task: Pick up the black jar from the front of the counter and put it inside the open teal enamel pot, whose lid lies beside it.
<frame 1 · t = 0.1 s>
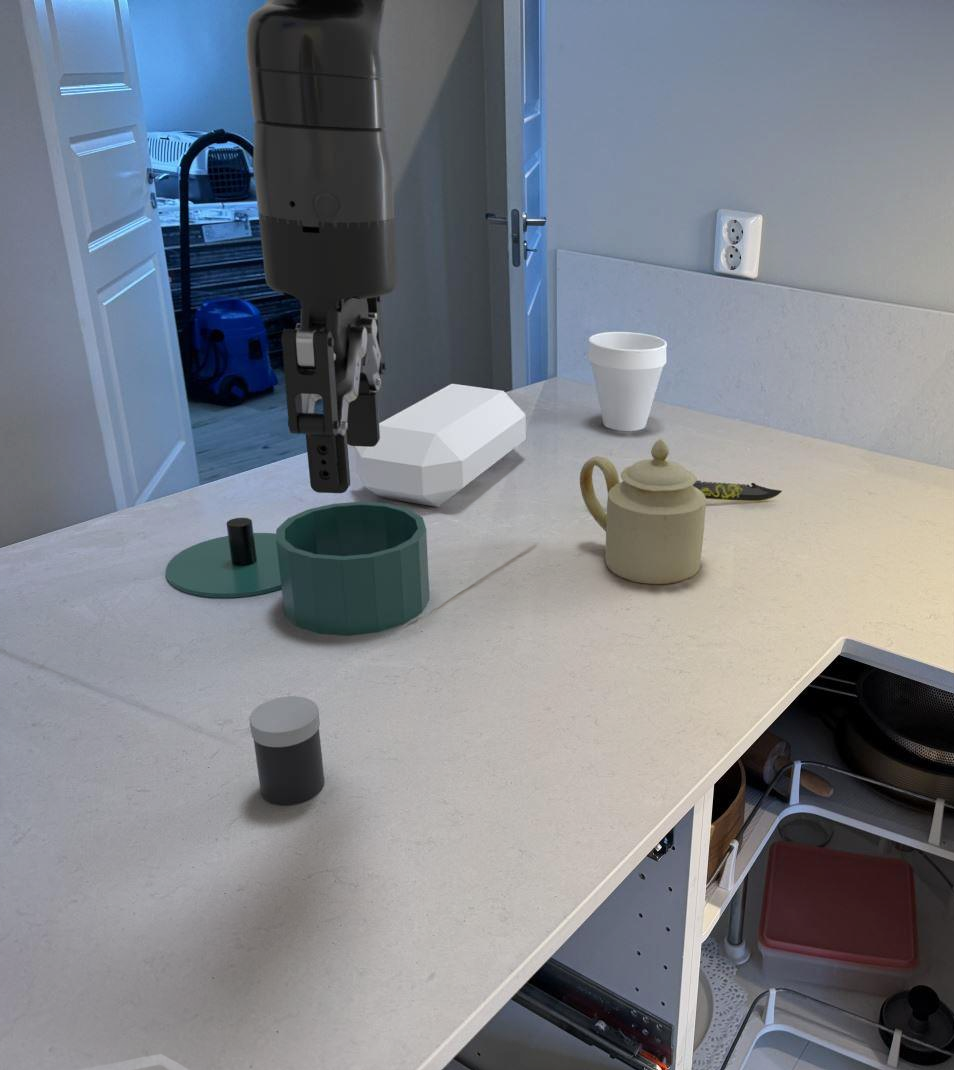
hand: (348, 466, 65), 26 cm above the worktop, tool pointing down, fingers open, 8 cm apart
cup: (624, 425, 159), on the worktop
pot: (358, 605, 99), on the worktop
lid: (244, 565, 104), point 1 cm above the worktop
black jar: (293, 786, 74), on the worktop
crystal: (446, 476, 133), on the worktop
knife: (699, 505, 131), on the worktop
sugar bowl: (636, 563, 114), on the worktop
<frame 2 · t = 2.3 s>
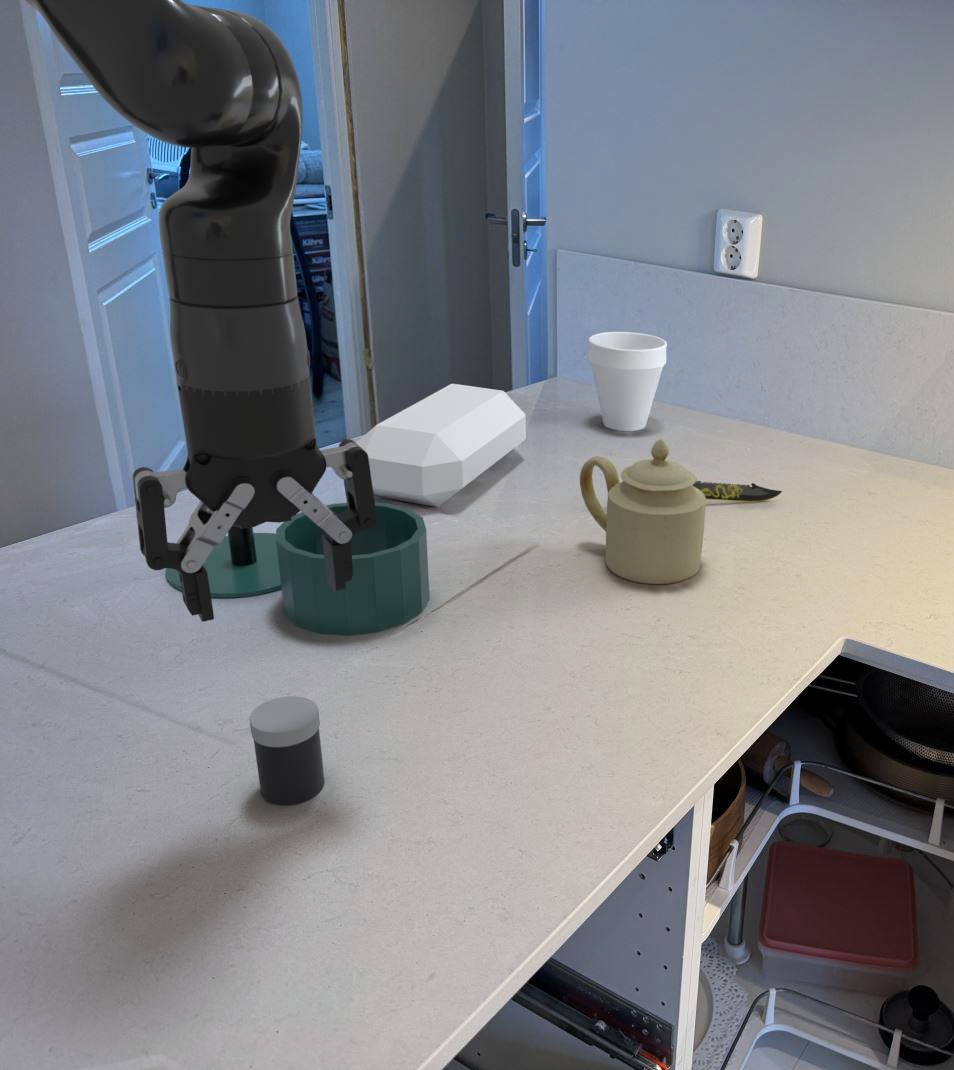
hand: (272, 601, 68), 16 cm above the worktop, tool pointing down, fingers open, 8 cm apart
nothing on the worktop moved.
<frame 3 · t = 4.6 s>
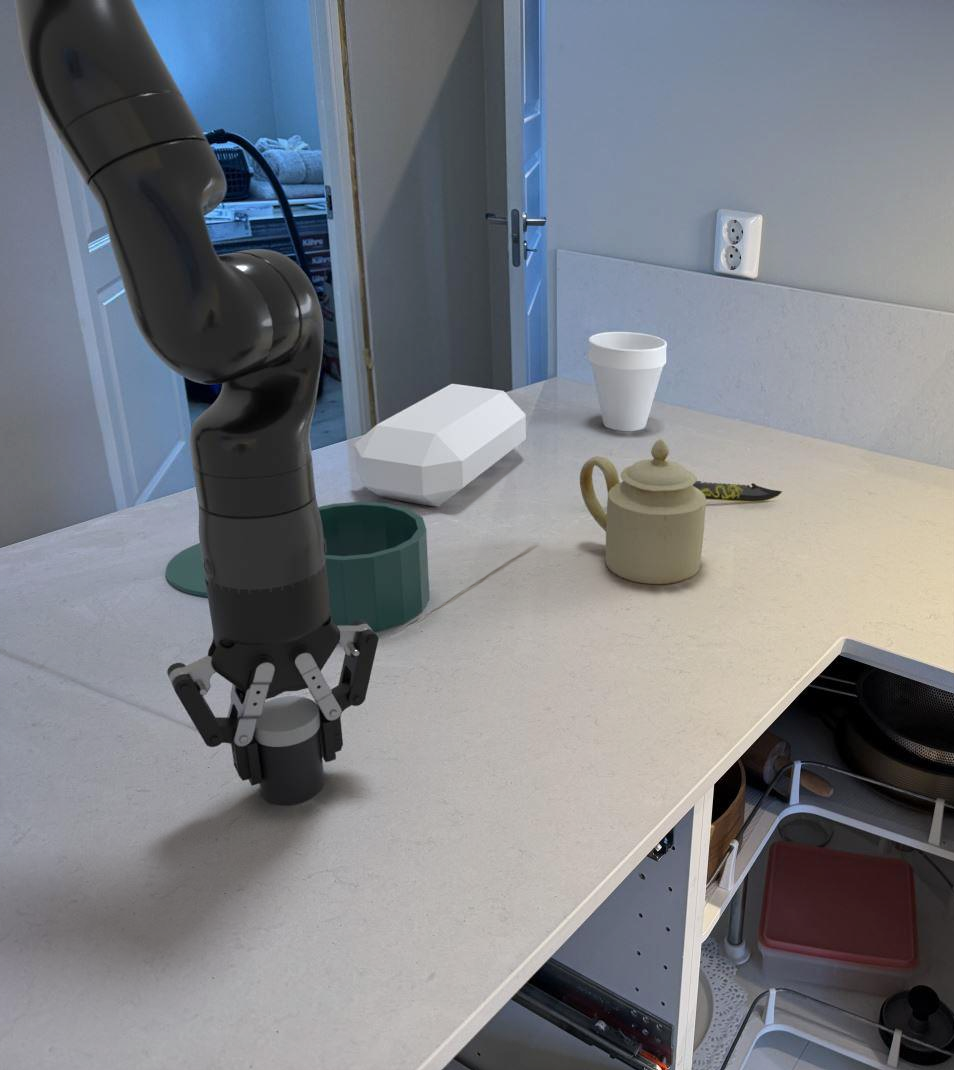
hand: (290, 766, 73), 2 cm above the worktop, tool pointing down, fingers closed on black jar, 4 cm apart
black jar: (293, 786, 74), on the worktop, touching gripper
everything else where it was.
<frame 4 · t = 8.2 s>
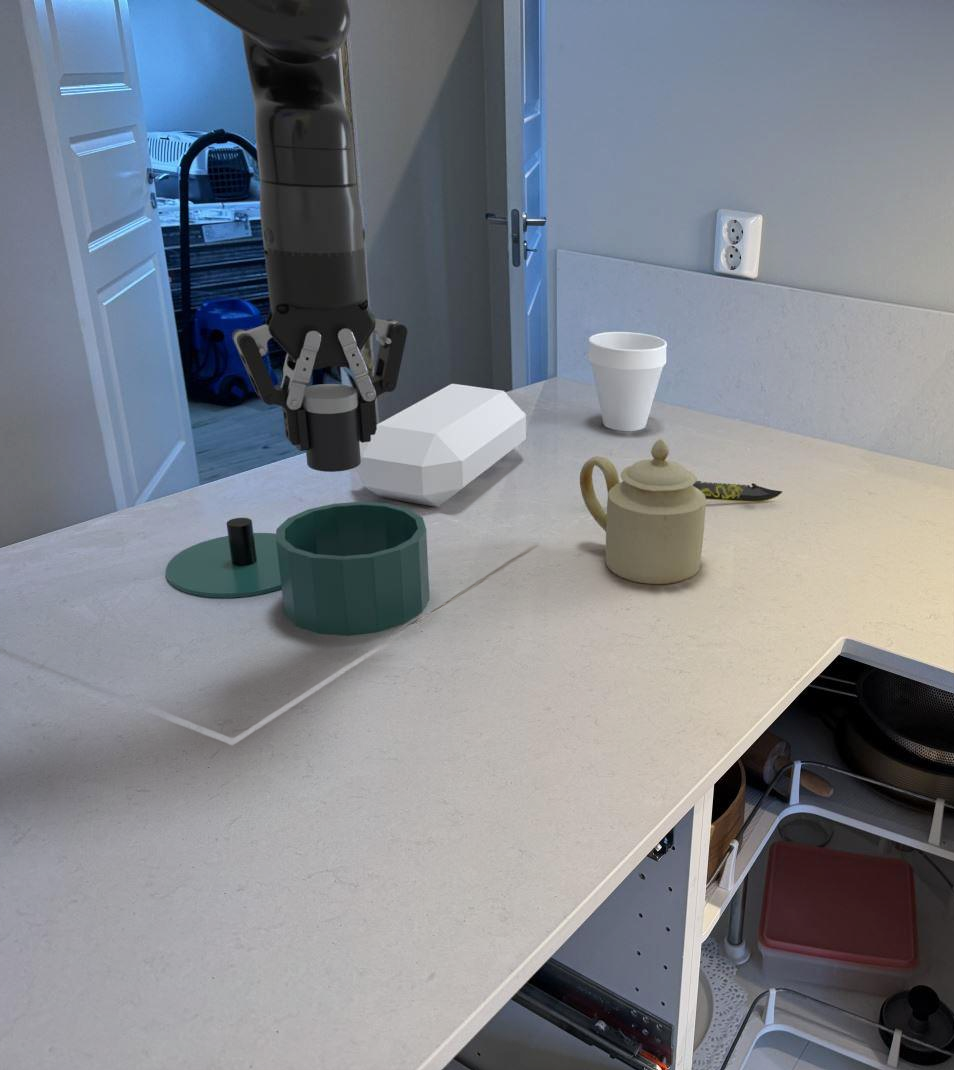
hand: (332, 442, 86), 19 cm above the worktop, tool pointing down, fingers closed on black jar, 4 cm apart
black jar: (334, 463, 87), point 18 cm above the worktop, touching gripper
everything else where it was.
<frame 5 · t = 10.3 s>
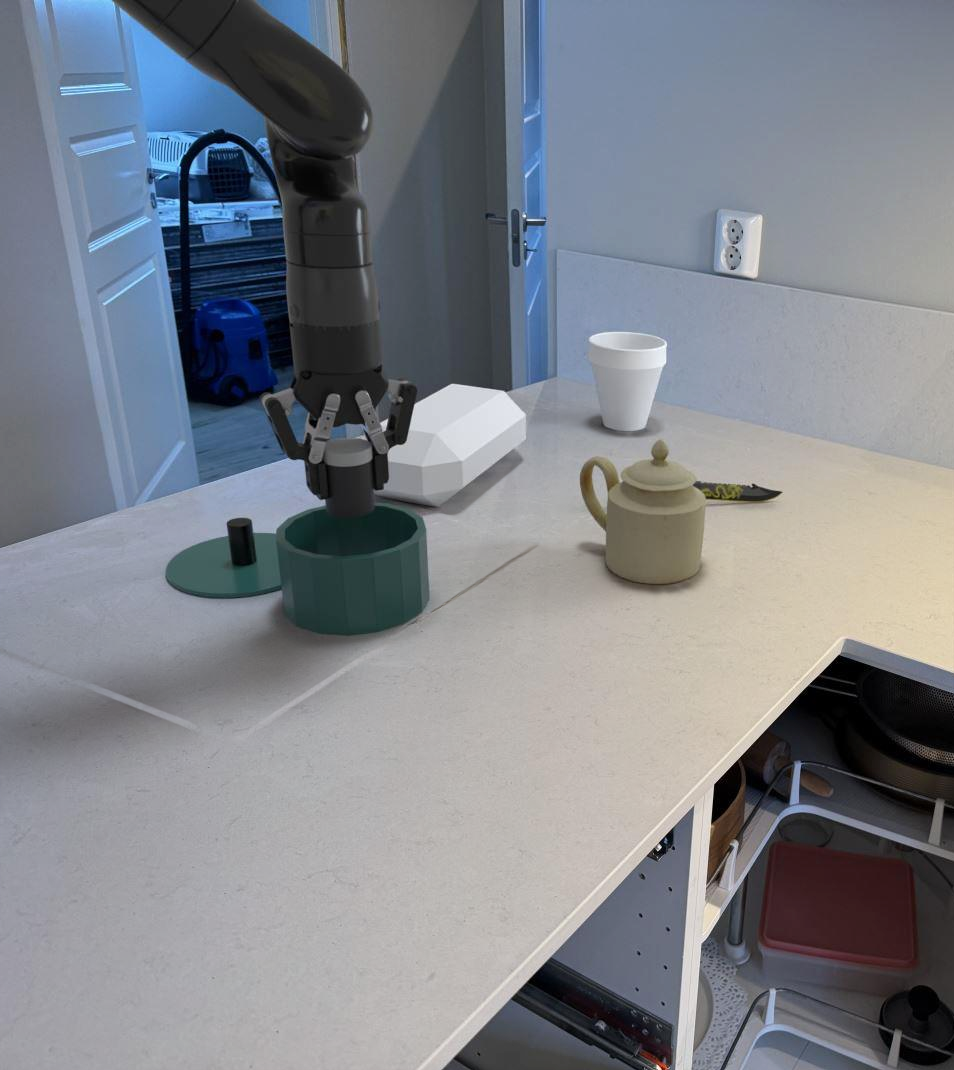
hand: (349, 491, 94), 12 cm above the worktop, tool pointing down, fingers closed on black jar, 4 cm apart
black jar: (350, 509, 95), point 11 cm above the worktop, touching gripper
everything else where it was.
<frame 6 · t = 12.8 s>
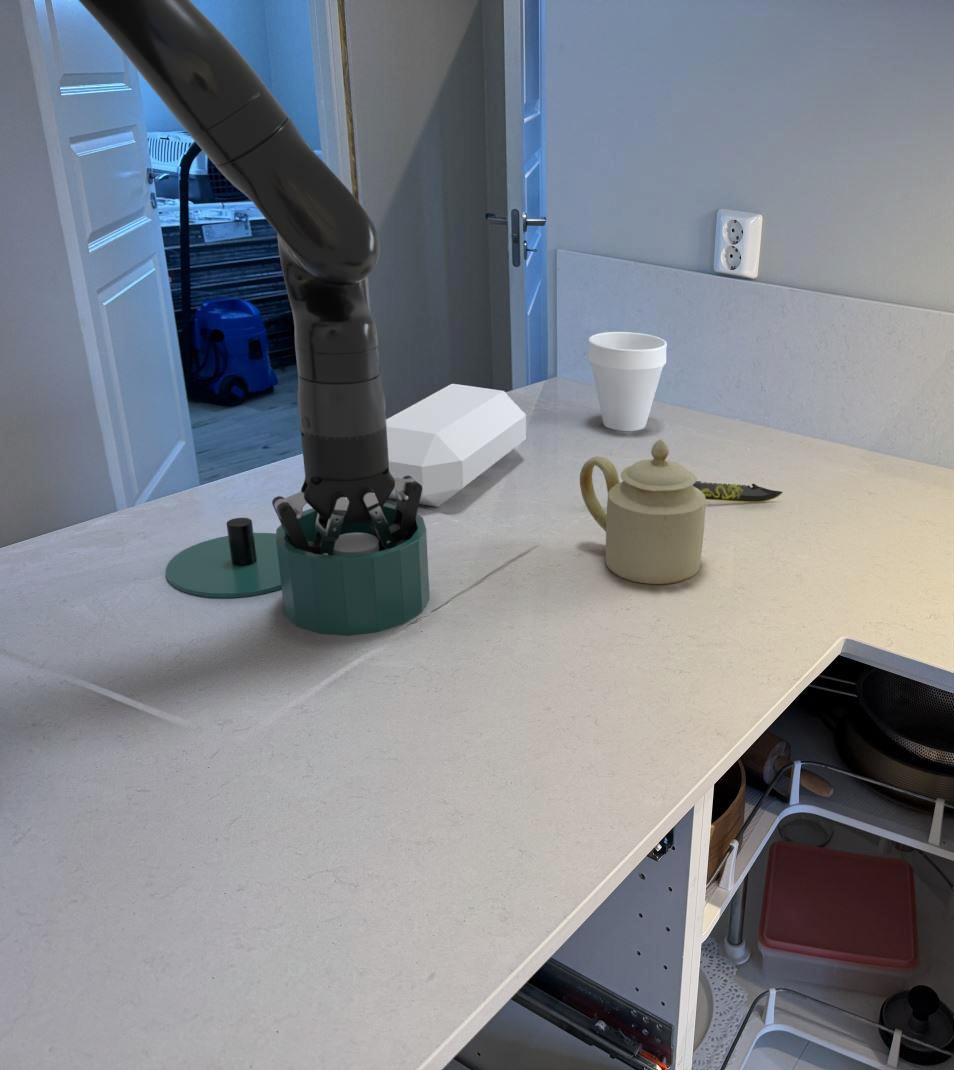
hand: (356, 584, 98), 2 cm above the worktop, tool pointing down, fingers closed on black jar, 4 cm apart
black jar: (358, 600, 99), point 1 cm above the worktop, touching gripper
everything else where it was.
when the fingers open (2 cm above the worktop, at t = 13.2 s): black jar stays where it is, resting on pot.
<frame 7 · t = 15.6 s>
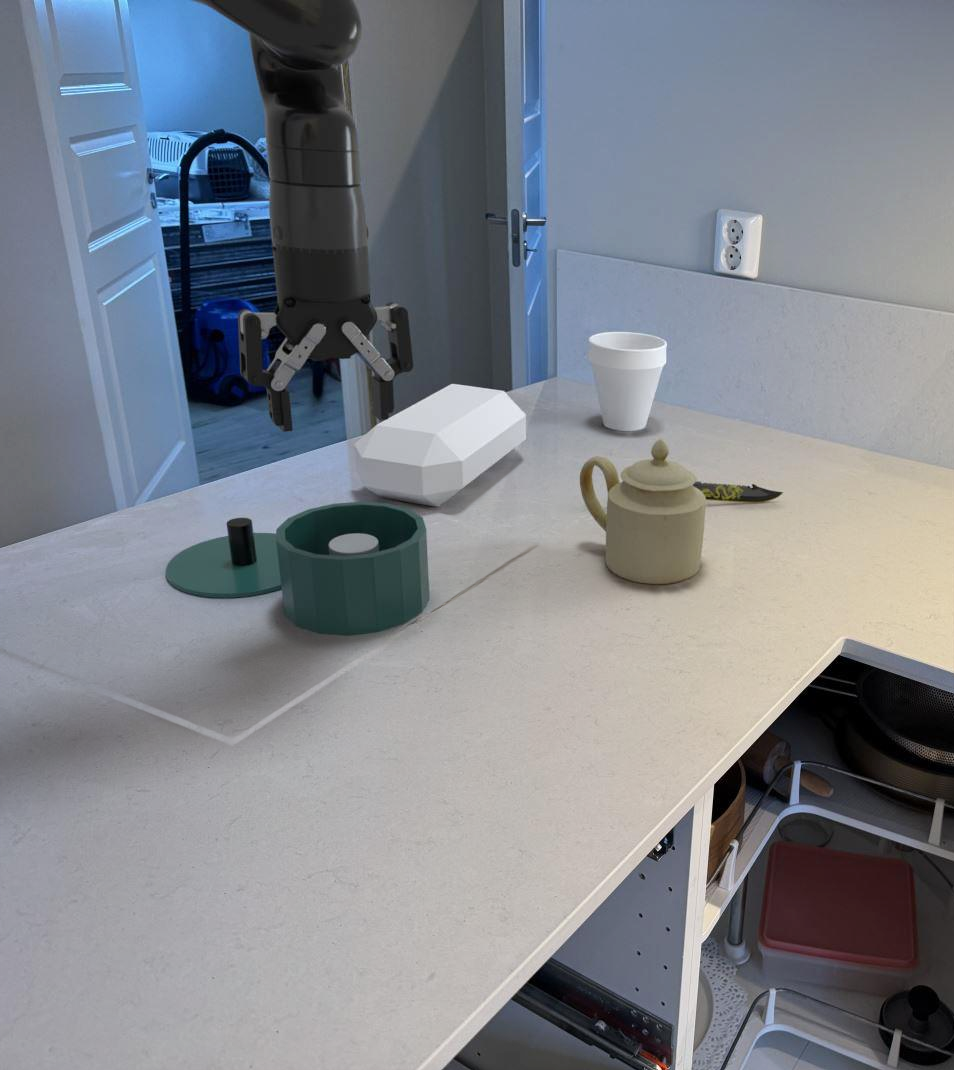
hand: (334, 423, 90), 20 cm above the worktop, tool pointing down, fingers open, 8 cm apart
black jar: (358, 601, 99), resting on pot
everything else where it was.
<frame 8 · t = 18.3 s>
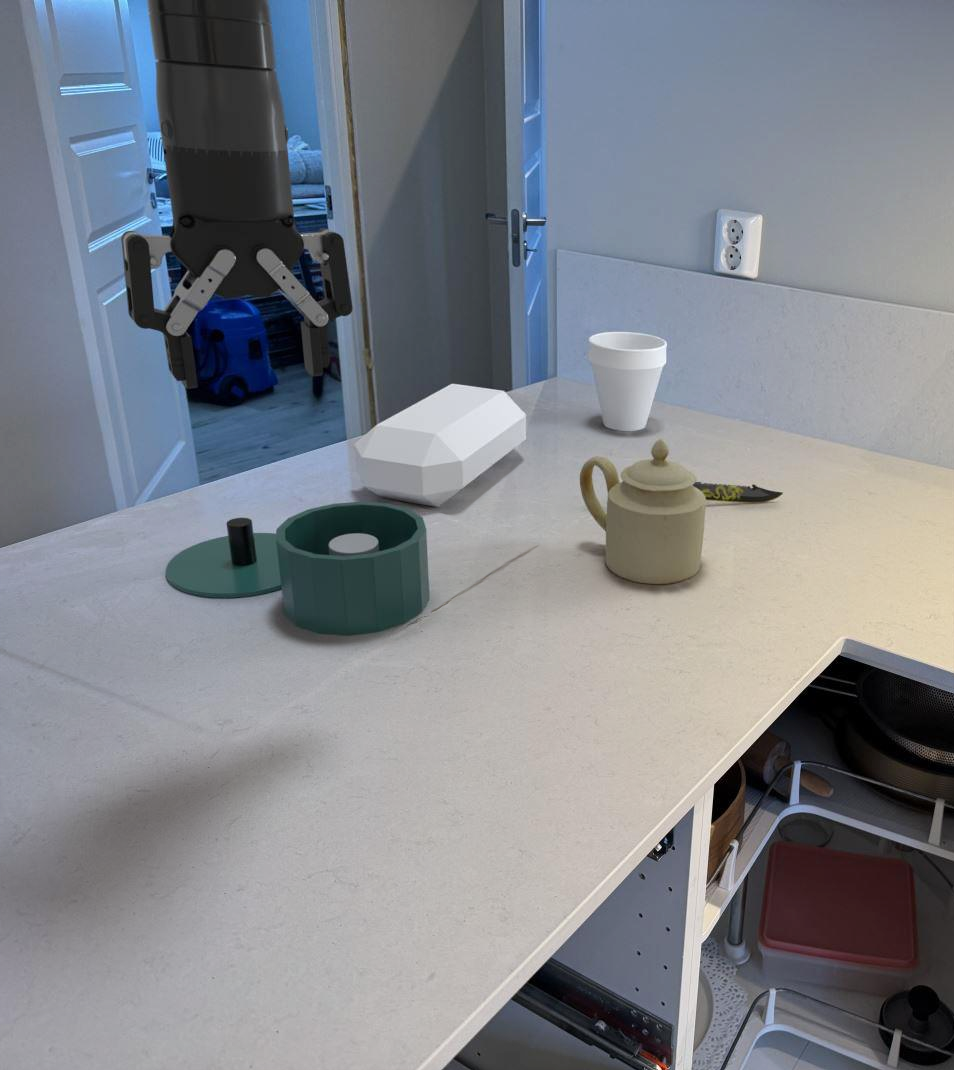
hand: (253, 379, 72), 28 cm above the worktop, tool pointing down, fingers open, 8 cm apart
nothing on the worktop moved.
at the end: black jar inside the target area in the pot (0.0 cm from its centre), point 0.5 cm above the pot's base; the gripper is holding nothing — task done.
